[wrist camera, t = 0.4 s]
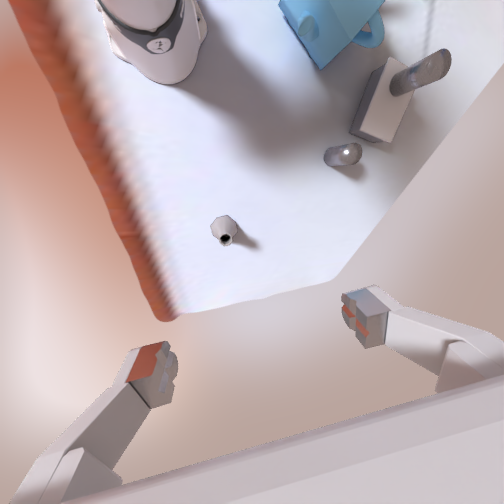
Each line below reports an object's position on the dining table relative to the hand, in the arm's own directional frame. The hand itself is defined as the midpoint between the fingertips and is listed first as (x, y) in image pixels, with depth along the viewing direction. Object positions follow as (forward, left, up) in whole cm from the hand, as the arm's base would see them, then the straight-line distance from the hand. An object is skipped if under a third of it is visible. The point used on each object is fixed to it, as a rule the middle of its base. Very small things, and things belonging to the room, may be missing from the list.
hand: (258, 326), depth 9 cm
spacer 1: (-2, +31, -47) cm, 56 cm away
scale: (-10, +43, -47) cm, 65 cm away
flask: (+8, -2, -47) cm, 48 cm away
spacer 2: (-13, +45, -42) cm, 62 cm away
